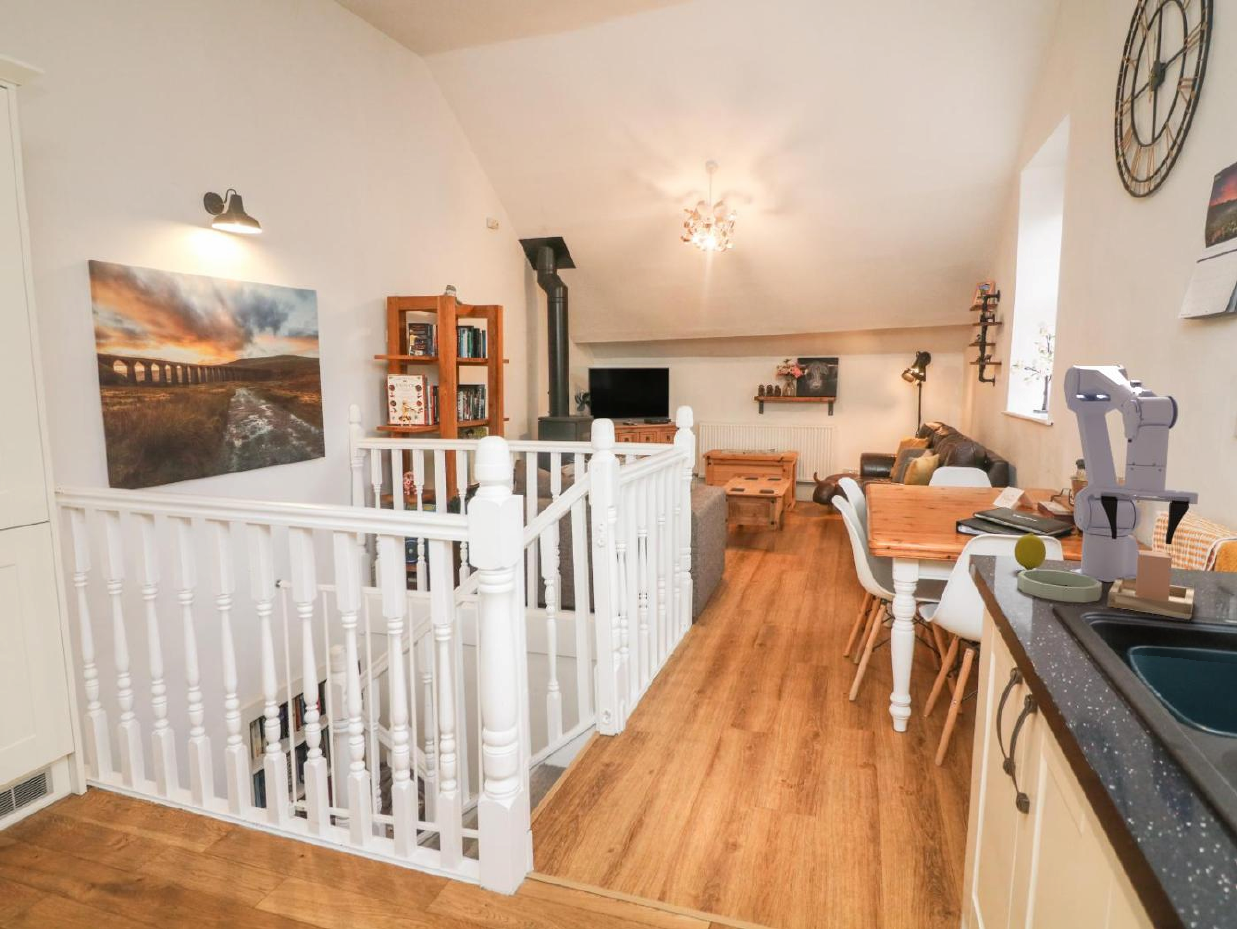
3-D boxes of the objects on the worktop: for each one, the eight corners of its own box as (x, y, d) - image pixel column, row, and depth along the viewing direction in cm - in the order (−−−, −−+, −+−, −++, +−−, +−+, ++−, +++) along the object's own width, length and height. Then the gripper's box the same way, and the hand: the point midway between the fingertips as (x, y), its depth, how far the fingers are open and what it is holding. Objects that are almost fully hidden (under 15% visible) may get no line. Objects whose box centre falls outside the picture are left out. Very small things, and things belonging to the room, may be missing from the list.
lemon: (1016, 573, 140) (1018, 534, 139) (1011, 566, 145) (1013, 529, 144) (1047, 575, 138) (1050, 536, 137) (1041, 568, 143) (1043, 531, 142)
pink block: (1135, 593, 122) (1138, 549, 121) (1166, 598, 119) (1170, 553, 119) (1135, 599, 118) (1139, 554, 118) (1168, 604, 116) (1172, 558, 115)
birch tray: (1116, 590, 127) (1117, 577, 127) (1193, 602, 120) (1194, 588, 120) (1107, 606, 118) (1108, 592, 118) (1190, 620, 111) (1191, 605, 110)
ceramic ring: (1052, 579, 135) (1053, 567, 135) (1117, 597, 123) (1118, 584, 123) (1002, 585, 131) (1003, 572, 131) (1064, 605, 119) (1065, 591, 119)
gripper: (1095, 464, 122) (1090, 539, 123) (1201, 468, 113) (1195, 549, 114) (1096, 461, 128) (1092, 533, 129) (1198, 465, 119) (1192, 542, 120)
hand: (1140, 540), depth 122 cm, fingers open, 7 cm apart
